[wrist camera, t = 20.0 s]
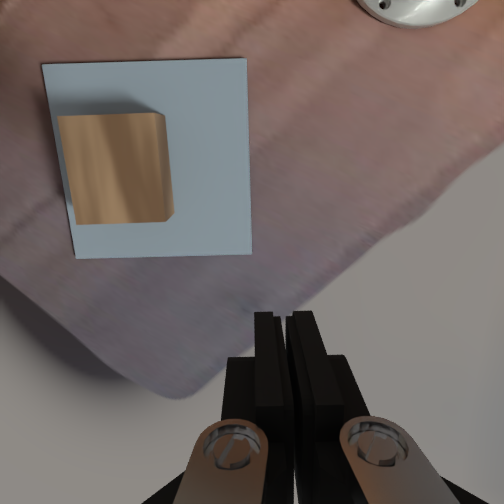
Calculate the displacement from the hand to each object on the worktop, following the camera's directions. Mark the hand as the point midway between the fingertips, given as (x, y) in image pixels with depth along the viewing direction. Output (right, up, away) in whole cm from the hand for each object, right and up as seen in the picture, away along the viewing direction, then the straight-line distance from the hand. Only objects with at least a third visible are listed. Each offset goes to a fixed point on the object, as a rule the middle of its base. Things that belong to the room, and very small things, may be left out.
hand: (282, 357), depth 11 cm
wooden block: (-8, +10, +19) cm, 22 cm away
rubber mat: (-9, +10, +21) cm, 25 cm away
